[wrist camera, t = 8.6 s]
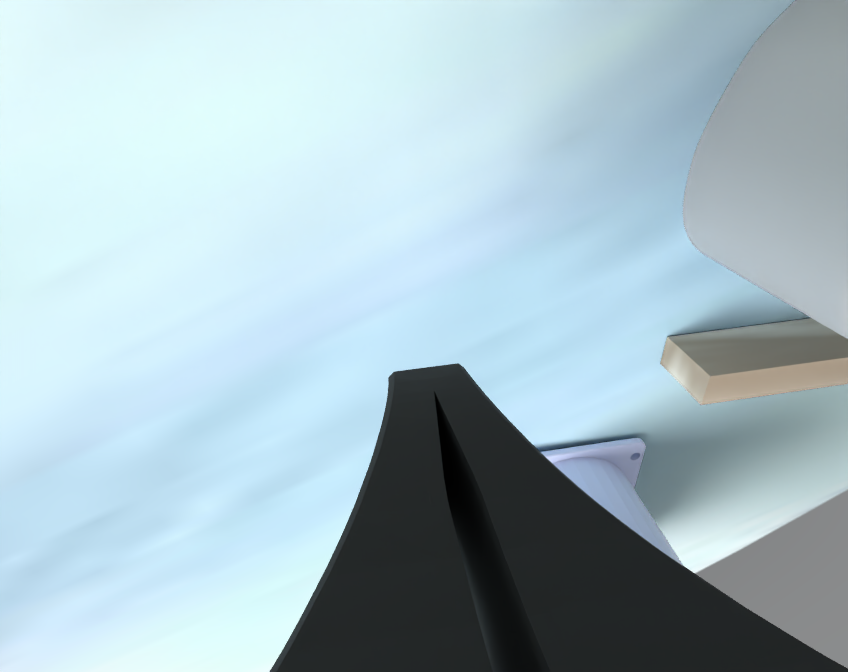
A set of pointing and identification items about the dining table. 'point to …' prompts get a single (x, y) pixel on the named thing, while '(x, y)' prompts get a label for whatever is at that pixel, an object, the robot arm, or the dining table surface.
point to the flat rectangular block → (757, 360)
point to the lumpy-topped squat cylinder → (781, 165)
